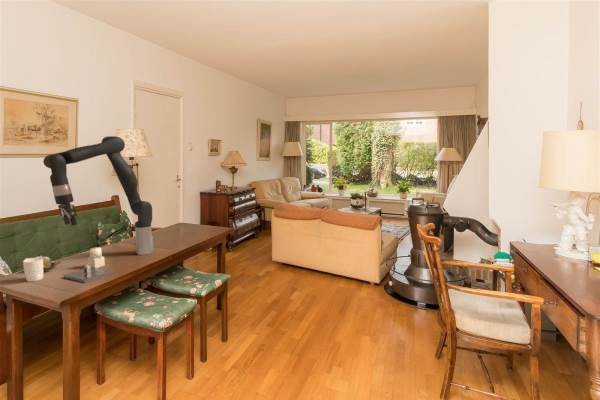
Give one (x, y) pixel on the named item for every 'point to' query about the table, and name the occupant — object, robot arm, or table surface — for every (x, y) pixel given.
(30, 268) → the white cup
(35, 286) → the table surface
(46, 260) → the ceramic sculpture
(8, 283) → the table surface
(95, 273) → the grey base with post
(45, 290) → the table surface
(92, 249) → the knob
